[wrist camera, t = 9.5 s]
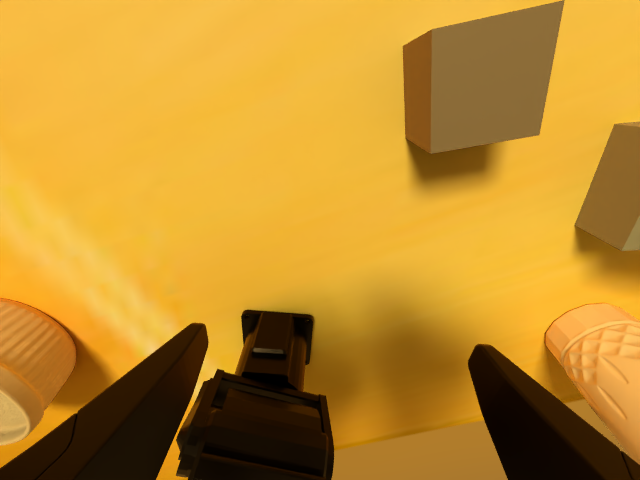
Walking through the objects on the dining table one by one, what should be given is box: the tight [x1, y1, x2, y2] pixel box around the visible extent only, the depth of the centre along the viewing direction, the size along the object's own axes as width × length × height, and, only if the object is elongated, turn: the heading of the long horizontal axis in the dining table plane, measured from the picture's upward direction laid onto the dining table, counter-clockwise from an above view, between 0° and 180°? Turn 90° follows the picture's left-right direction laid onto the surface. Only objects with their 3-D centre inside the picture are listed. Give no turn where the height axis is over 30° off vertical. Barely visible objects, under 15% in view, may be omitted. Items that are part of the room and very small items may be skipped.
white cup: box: [545, 303, 640, 465], centre depth 21 cm, size 8×8×10 cm
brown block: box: [403, 0, 564, 154], centre depth 14 cm, size 5×5×5 cm
